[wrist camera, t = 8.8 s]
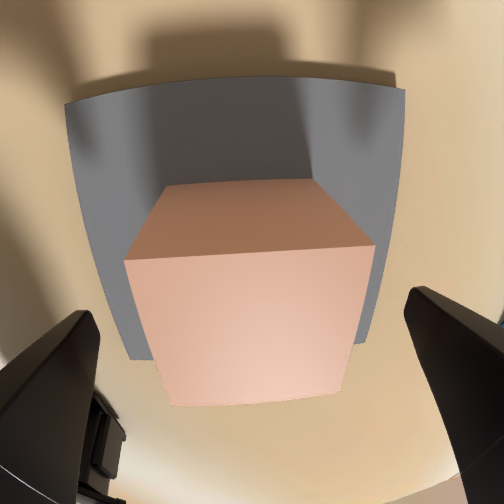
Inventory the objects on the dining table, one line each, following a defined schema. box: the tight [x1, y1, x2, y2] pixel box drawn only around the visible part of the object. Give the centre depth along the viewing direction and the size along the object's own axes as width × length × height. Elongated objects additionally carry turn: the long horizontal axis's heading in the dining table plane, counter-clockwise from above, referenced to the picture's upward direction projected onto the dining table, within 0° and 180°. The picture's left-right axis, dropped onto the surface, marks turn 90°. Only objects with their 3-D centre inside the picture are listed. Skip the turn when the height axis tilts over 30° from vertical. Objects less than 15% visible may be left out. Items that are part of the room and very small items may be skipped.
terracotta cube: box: [124, 179, 376, 406], centre depth 9 cm, size 5×5×5 cm
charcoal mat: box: [64, 76, 405, 360], centre depth 12 cm, size 12×12×1 cm
